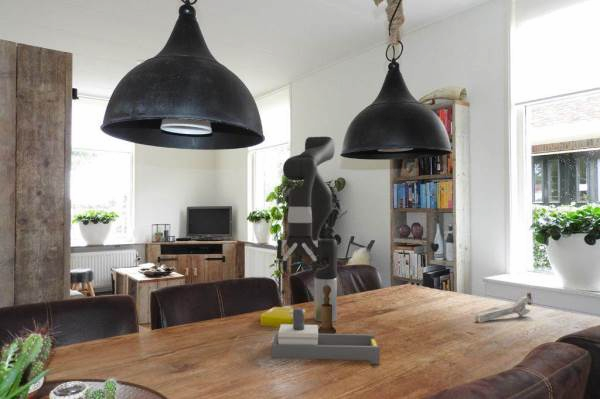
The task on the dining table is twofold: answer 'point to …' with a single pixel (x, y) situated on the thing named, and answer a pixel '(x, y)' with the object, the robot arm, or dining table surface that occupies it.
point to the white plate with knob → (298, 331)
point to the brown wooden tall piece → (326, 314)
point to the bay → (332, 348)
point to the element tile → (278, 316)
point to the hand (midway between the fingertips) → (299, 272)
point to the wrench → (506, 311)
